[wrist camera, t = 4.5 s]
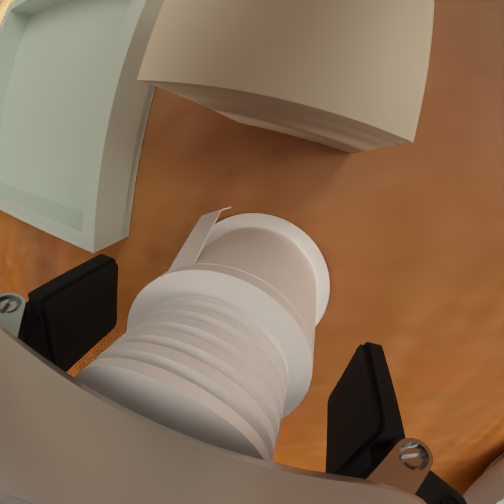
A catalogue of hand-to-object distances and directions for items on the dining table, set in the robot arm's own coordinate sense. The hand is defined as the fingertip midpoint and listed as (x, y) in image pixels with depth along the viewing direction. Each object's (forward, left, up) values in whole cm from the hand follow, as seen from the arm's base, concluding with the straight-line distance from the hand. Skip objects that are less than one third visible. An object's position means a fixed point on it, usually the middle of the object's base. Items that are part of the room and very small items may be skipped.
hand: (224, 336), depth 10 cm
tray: (+15, -8, -4) cm, 18 cm away
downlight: (0, 0, -5) cm, 5 cm away
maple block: (0, -10, -5) cm, 11 cm away
